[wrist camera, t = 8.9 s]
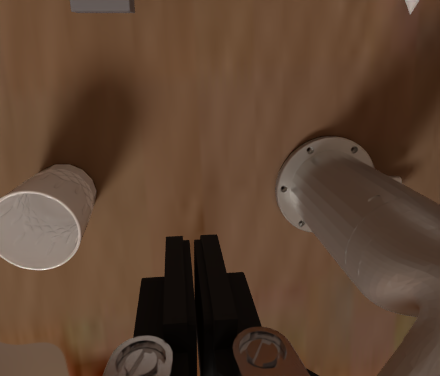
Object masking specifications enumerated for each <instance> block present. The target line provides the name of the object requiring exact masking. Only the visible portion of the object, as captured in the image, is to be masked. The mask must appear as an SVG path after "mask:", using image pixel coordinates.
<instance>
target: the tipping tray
mask: <svg viewBox="0 0 440 376" xmlns="http://www.w3.org/2000/svg"><path fill="white" fill-rule="evenodd" d="M70 5H71V11H72V12H76V13H135V7H134V0H70Z"/></svg>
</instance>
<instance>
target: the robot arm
mask: <svg viewBox="0 0 440 376" xmlns="http://www.w3.org/2000/svg"><path fill="white" fill-rule="evenodd" d="M307 148H309V150H308V151H307ZM351 148H352V149H351ZM282 186H284V187H283V188H281V187H282ZM275 190H276V200H277V203H278V206H279V208H280V210H281V212H282V214H283V215H284V216H285V218H286V219H287V220H288V221H289V222H290V223H291V224H292V225H294V226H295V227H297V228H299V229H301V230H304V231H307V232H313V233H314V234H315V236H316V237H317V238H318V239H319V241H320V242H321V243H322V244H323V246H324V247H325V248H326V249H327V251H328V252H329V253H330V254H331V256H332V257H333V258H334V259H335V261H336V262H337V263H338V264H339V266H340V267H341V268H342V269H343V271H344V272H345V273H346V274H347V276H348V277H349V278H350V279H351V281H352V282H353V283H354V284H355V285H356V287H357V288H358V289H359V290H360V291H361V292H362V294H363V295H364V296H365V297H367V298H368V299H369V300H370V301H372V302H373V303H374V304H376V305H378V306H380V307H382V308H384V309H386V310H388V311H391V312H394V313H398V314H402V315H407V316H413V317H417V320H416V322H415V323H414V325H413V326H412V328H411V329H410V330H409V332H408V333H407V335H406V336H405V337H404V339H403V342H402V343H401V345H400V346H399V347H398V348H397V350H396V351H395V352H394V354H393V355H392V356H391V358H390V359H389V360H388V362H387V363H386V364H385V366H384V367H383V368H382V369H381V371H380V372H379V373H378V375H377V376H440V204H438V203H436V202H434V201H432V200H430V199H429V198H427V197H425V196H423V195H421V194H420V193H418V192H416V191H414V190H412V189H411V188H409V187H407V186H405V185H403V184H402V180H401V177H400V176H387V175H385V174H384V173H382V172H380V171H378V170H376V169H374V165H373V162H372V160H371V158H370V156H369V155H368V153H367V152H366V151H365V150H364V149H363V148H362V147H361V146H360V145H358V144H357V143H355V142H353V141H351V140H349V139H346V138H343V137H338V136H324V137H319V138H315V139H313V140H310V141H308V142H306V143H304V144H303V145H301V146H300V147H298V148H297V149H296V150H295V151H294V152H292V153H291V154H290V156H289V157H288V158H287V159H286V161H285V162H284V164H283V165H282V167H281V169H280V171H279V174H278V177H277V181H276V188H275ZM194 278H195V299H194V288H193V276H192V265H191V254H190V243H189V240H183V236H173V237H166V252H165V277H151V278H142V280H141V287H140V294H139V301H138V308H137V315H136V322H135V330H134V337H133V338H132V339H129V340H127V341H125V342H124V343H122V344H121V345H120V346H118V347H117V348H116V349H115V350H114V352H113V353H112V355H111V357H110V359H109V361H108V364H107V366H106V369H105V371H104V374H103V376H197V344H198V356H199V367H200V376H319V375H317V374H315V373H313V372H312V371H310V370H308V369H306V368H305V366H304V365H303V363H302V361H301V360H300V358H299V356H298V355H297V353H296V351H295V350H294V348H293V347H292V345H291V343H290V342H289V341H288V339H287V338H286V337H285V336H284V335H282V334H281V333H279V332H278V331H276V330H273V329H271V328H267V327H262V326H261V323H260V320H259V317H258V314H257V311H256V308H255V305H254V302H253V299H252V296H251V293H250V290H249V287H248V284H247V281H246V278H245V275H244V273H243V272H236V273H226V269H225V264H224V260H223V256H222V252H221V248H220V244H219V240H218V236H217V235H201V236H200V240H194Z"/></svg>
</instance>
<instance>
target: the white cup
mask: <svg viewBox="0 0 440 376" xmlns="http://www.w3.org/2000/svg"><path fill="white" fill-rule="evenodd" d="M96 192H97V191H96V188H95V186H94V183H93V180H92V179H91V178H90V177H89V176H88V175H87V174H86V173H85V172H84V171H83V170H82V169H80V168H77V167H75V166H72V165H70V164H55V165H53V166H51V167H48V168H46V169H44V170H42V171H41V172H39V173H37V174H35V175H34V176H32V177H31V178H29V179H28V180H26V181H24V182H23V183H21V184H20V185H19V186H17V187H16V188H14V189H13V190H12V191H10V192H9V193H7V194H6V195H5V196H3V197H2V198H0V256H1V257H2V258H3V259H5V260H6V261H8V262H9V263H11V264H13V265H16V266H18V267H21V268H25V269H30V270H47V269H52V268H55V267H58V266H60V265H62V264H64V263H65V262H67V261H68V260H69V259H71V258H72V257H73V255H74V254H75V253H76V251H77V249H78V247H79V245H80V242H81V240H82V237H83V235H84V232H85V230H86V227H87V225H88V222H89V219H90V216H91V213H92V210H93V206H94V204H95V199H96Z"/></svg>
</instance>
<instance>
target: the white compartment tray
mask: <svg viewBox="0 0 440 376" xmlns="http://www.w3.org/2000/svg"><path fill="white" fill-rule="evenodd" d="M405 2H406V5H407V7H408V10H409V13H410V14H411V13H412V11H413V10H414V8H415V6H416V5H417V3H418V2H419V0H405Z"/></svg>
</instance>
